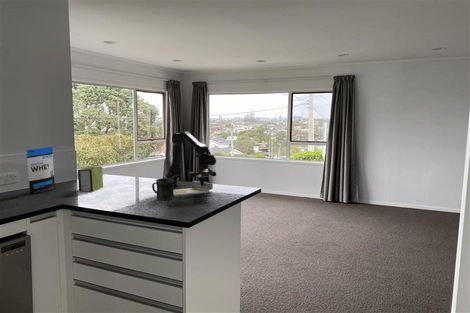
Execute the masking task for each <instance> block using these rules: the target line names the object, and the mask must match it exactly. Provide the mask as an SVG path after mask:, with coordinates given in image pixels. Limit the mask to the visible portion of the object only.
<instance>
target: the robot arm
mask: <svg viewBox="0 0 470 313" xmlns="http://www.w3.org/2000/svg"><path fill="white" fill-rule="evenodd" d="M184 140H186V141H187V142H188V143H190V145H191V146H192V147H193V148H194V151H195V152H196V153H197V154H196V155H195V157H197V172H194V171H188V172H187V176H188V177H189V178H195V177H196V178H197V180H198V181H200V184H201V186H203V184H204V182H206V179H207V178H208V177H209V176H212V177H217V172H216V171H215V170H212V168H208V166H215V165H216V163H217V159H216V157H215V155H214V154H211V152H210V150H209V147H208V146H207V145H206V144H204V143H203V142H200V141H199V140H197V138H195V137H194V136H193V135H192V134H191V132H189V131H183V132H175V133H174V132H173V134H172V136H171V141H172V144H173V153H172V161H171V162H172V163H171V165H170V167H169V169H168V172H167V174H166V178H170V179H174V181H173V188H175V187H176V188H177V187H179V185H178V178H180V176H181V173H182V167H181V166H180V162H181V161H180V159H181V157H180V156H181V151H182V150H181V148H182V145H183V143H184V142H185V141H184Z"/></svg>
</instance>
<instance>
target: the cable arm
mask: <svg viewBox="0 0 470 313" xmlns="http://www.w3.org/2000/svg"><path fill="white" fill-rule="evenodd" d="M213 184H214V183H213V182H206V181H204V184H203V186H201V184H200V181H199V180H192V181H191V188H193V187H195V188H201V189H206V190H208V191H211V190H213V186H214V185H213Z"/></svg>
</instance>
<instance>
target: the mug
mask: <svg viewBox="0 0 470 313" xmlns="http://www.w3.org/2000/svg"><path fill="white" fill-rule="evenodd" d="M173 181H174V179H170V178H167V177H166V178H163V177H162V178H158V179H155V182H153V183H152V185H151V188H152V191H153V192H154V193H155V194H156V199H157V200H159V201H169V200H173V199H174V197H175V196H174V191H173V190H174V187H173ZM155 185H156V189H155Z"/></svg>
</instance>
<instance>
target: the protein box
mask: <svg viewBox="0 0 470 313" xmlns="http://www.w3.org/2000/svg"><path fill="white" fill-rule="evenodd" d="M103 177H104V175H103V166H90V165H89V166H86V167H82V168H79V169H77V179H78V182H77V183H78V192H80V193H81V192H82V193H83V192H86V193H89V192H90V193H92V192H93V193H94V192H95V191H98V190H100V189H102V188H104V181H103V180H104V178H103Z"/></svg>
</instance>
